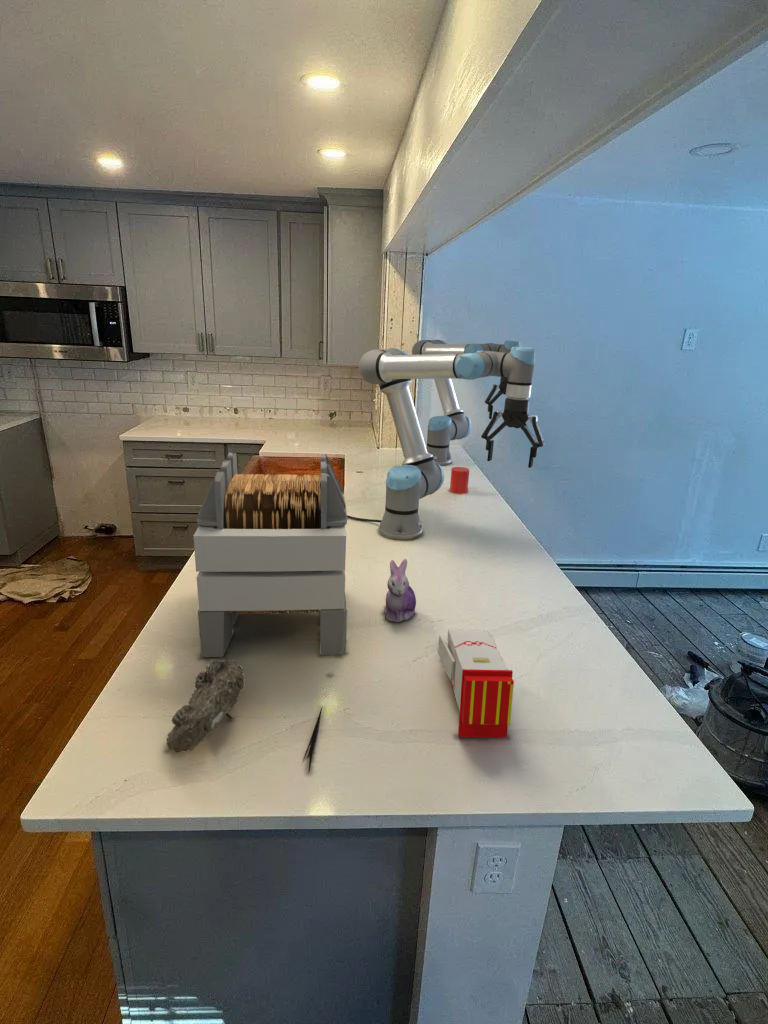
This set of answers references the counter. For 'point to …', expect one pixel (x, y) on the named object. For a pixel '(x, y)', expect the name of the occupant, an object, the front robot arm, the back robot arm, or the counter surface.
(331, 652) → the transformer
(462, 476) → the tin
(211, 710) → the fossil
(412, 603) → the figurine
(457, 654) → the toy
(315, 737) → the feather
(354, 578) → the counter surface
